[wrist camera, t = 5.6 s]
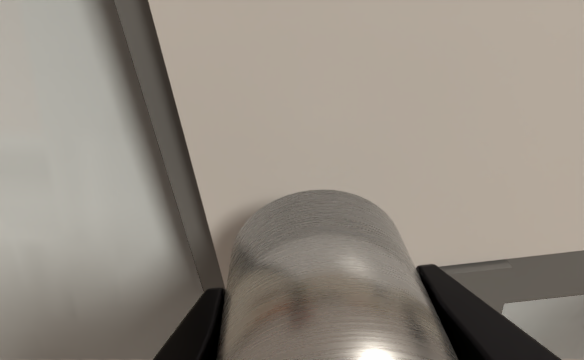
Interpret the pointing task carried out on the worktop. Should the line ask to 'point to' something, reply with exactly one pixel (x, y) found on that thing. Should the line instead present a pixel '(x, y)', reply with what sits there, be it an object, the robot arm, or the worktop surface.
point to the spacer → (326, 286)
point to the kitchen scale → (378, 125)
